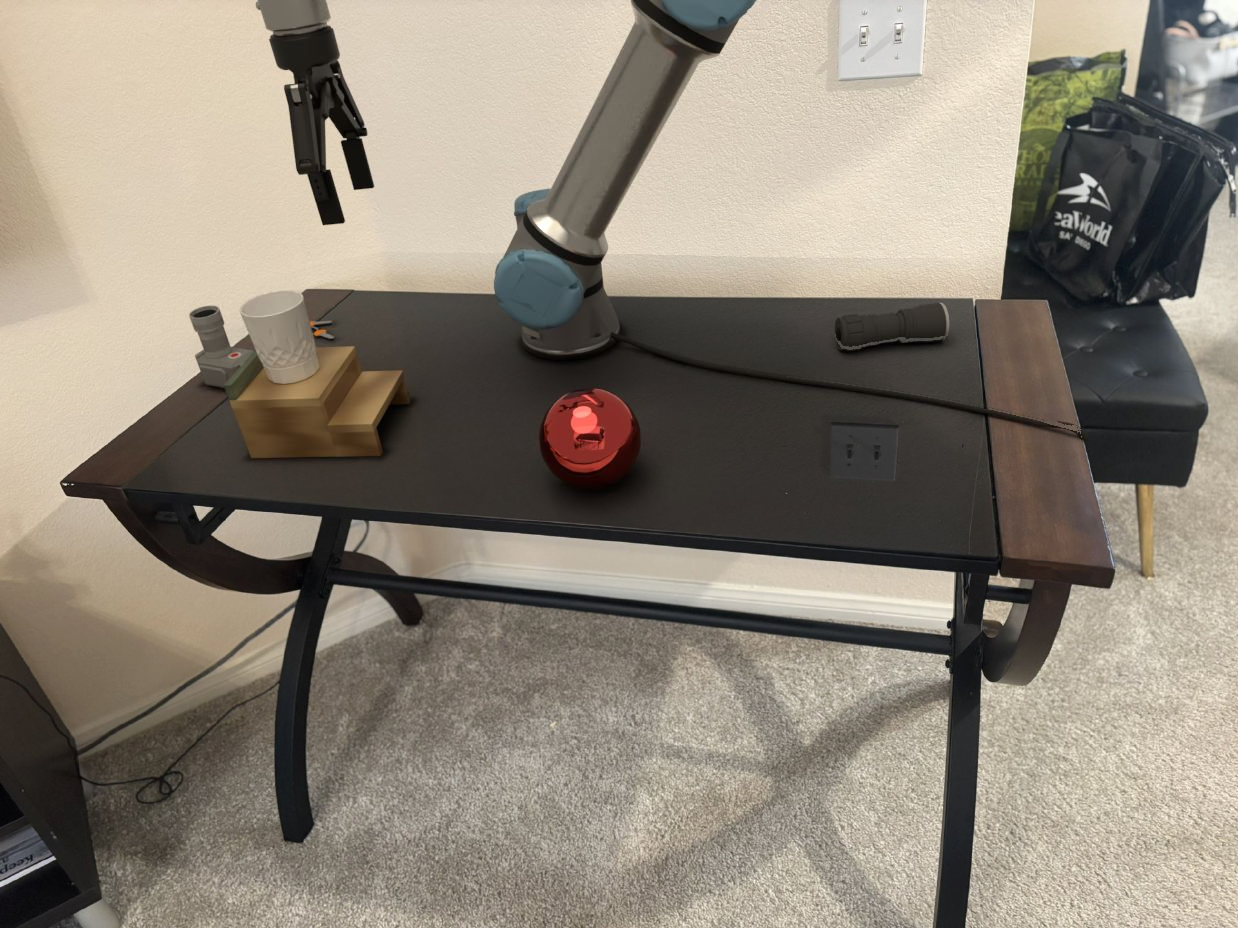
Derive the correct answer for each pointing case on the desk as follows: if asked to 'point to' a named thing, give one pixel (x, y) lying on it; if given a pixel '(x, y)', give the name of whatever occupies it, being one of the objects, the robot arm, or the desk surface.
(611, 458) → the ball
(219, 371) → the camera
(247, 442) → the shelf stand
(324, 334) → the key chain
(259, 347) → the white cup
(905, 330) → the flashlight
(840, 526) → the desk surface
